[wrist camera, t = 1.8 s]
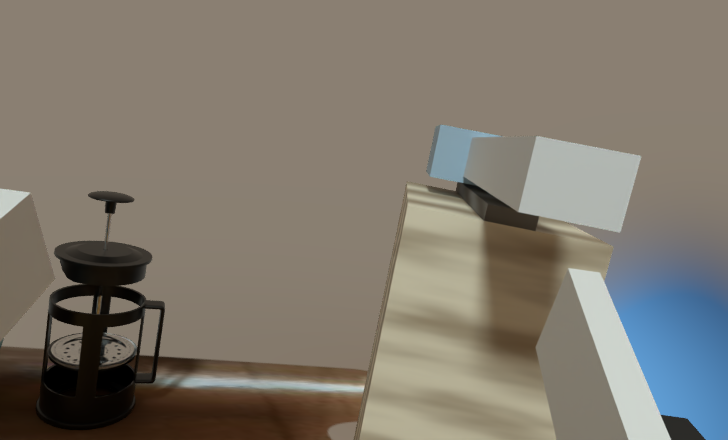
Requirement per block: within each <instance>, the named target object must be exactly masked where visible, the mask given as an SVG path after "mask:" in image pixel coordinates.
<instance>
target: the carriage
mask: <svg viewBox="0 0 728 440" xmlns="http://www.w3.org/2000/svg"><path fill="white" fill-rule="evenodd" d="M640 159H641V156H638V155H633V154H628V153H622V152H617V151H612V150H607V149H602V148H596V147H591V146H586V145H581V144H576V143H570V142H564V141H560V140H555V139H550V138H545V137H539V136H517V137H516V136H514V137H502V136H497V135H492V134H487V133H482V132H477V131H471V130H466V129H461V128H456V127H451V126H446V125H439V126H436V128H435V132H434V137H433V142H432V147H431V151H430V156H429V161H428V166H427V170H426V171H427V173H428V174H429V176H431V177H435V178H441V179H445V180H450V181H456V182H461V183H466V184H471V185H476V186H479V187H480V188H482V189H484V190H485V191H487V192H488V193H490V194H491V195H493V196H494V197H496V198H497V199H499V200H500V201H502V202H504V203H505V204H507V205H508V206H510V207H511V208H513V209H514V210H516V211H517V212H521V213H526V214H531V215H536V216H541V217H546V218H551V219H556V220H561V221H566V222H571V223H576V224H581V225H586V226H591V227H596V228H601V229H606V230H611V231H616V232H621V228H622V225H623V220H624V217H625V213H626V210H627V206H628V203H629V199H630V195H631V191H632V188H633V184H634V181H635V177H636V173H637V170H638V166H639V163H640Z"/></svg>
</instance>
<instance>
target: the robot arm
mask: <svg viewBox="0 0 728 440" xmlns="http://www.w3.org/2000/svg"><path fill="white" fill-rule="evenodd" d="M54 280H55V276H54V273H53V269H52V266H51V262H50V259H49V255H48V252H47V248H46V245H45V241H44V238H43V234H42V231H41V227H40V224H39V220H38V217H37V213H36V210H35V206H34V203H33V199H32V196H31V193H28V192H21V191H14V190H7V189H0V348H1V345H2V342H3V339H4V337H5V336H6V335H7V334H8V332H9V331H10V330H11V329H12V328H13V327H14V326H15V324H16V323H17V322H18V321H19V320H20V319H21V318H22V316H23V315H24V314H25V313H26V312H27V311H28V309H29V308H30V307H31V306H32V305H33V304H34V302H35V301H36V300H37V299H38V298H39V297H40V296H41V295H42V293H43V292H44V291H45V290H46V288H48V287H49V285H50V284H51V283H52V282H53V281H54ZM536 352H537V356H538V360H539V365H540V369H541V373H542V378H543V382H544V387H545V391H546V395H547V400H548V404H549V409H550V413H551V417H552V422H553V426H554V430H555V435H556V439H557V440H705V439H704V437H703V436H702V435H701V434H700V433H699V432H698V431H697V429H696V428H695V427H694V426H693V425H692V424H691V423H690V422H689V420H688V419H685V418H679V417H672V416H665V415H660V413H659V410H658V408H657V405H656V403H655V401H654V398H653V396H652V394H651V391H650V389H649V387H648V384H647V382H646V380H645V377H644V375H643V372H642V370H641V368H640V365H639V363H638V361H637V358H636V356H635V354H634V351H633V349H632V347H631V344H630V342H629V340H628V337H627V335H626V332H625V330H624V328H623V325H622V323H621V321H620V318H619V316H618V314H617V311H616V309H615V307H614V304H613V302H612V300H611V297H610V295H609V292H608V290H607V288H606V285H605V283H604V281H603V278H602V276H601V274H600V272H593V271H586V270H578V269H571V268H568V270H567V272H566V274H565V277H564V279H563V282H562V284H561V287H560V289H559V291H558V294H557V296H556V299H555V301H554V304H553V306H552V308H551V311H550V313H549V316H548V318H547V321H546V323H545V325H544V328H543V330H542V333H541V335H540V338H539V340H538V342H537V345H536Z"/></svg>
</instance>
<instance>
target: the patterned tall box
mask: <svg viewBox="0 0 728 440" xmlns="http://www.w3.org/2000/svg"><path fill="white" fill-rule="evenodd" d="M612 251H613V246H611V245H609V244H607V243H605V242H603V241H601V240H599V239H597V238H595V237H593V236H591V235H590V234H588V233H586V232H584V231H582V230H580V229H578V228H576V227H574V226H572V225H570V224H568V223H567V222H565V221H561V220H556V219H551V218H546V217H541V216H536V215H531V214H526V213H521V212H517V211H516V210H514V209H513V208H511V207H510V206H508V205H507V204H505V203H504V202H502V201H500V200H499V199H497V198H496V197H494V196H493V195H491V194H490V193H488V192H487V191H485V190H484V189H482V188H480V187H479V186H476V185H471V184H466V183H461V182H458V183H457V188H456V191H452V190H446V189H442V188H437V187H432V186H427V185H421V184H417V183H412V182H407V184H406V189H405V194H404V199H403V204H402V208H401V213H400V218H399V223H398V228H397V233H396V237H395V242H394V247H393V252H392V257H391V262H390V267H389V271H388V276H387V281H386V286H385V291H384V296H383V301H382V305H381V310H380V315H379V320H378V325H377V330H376V335H375V339H374V344H373V349H372V354H371V359H370V364H369V369H368V373H367V378H366V383H365V388H364V393H363V398H362V403H361V407H360V412H359V417H358V422H357V427H356V432H355V437H354V440H557V439H556V435H555V430H554V426H553V422H552V417H551V413H550V409H549V404H548V400H547V395H546V391H545V387H544V382H543V378H542V373H541V369H540V365H539V360H538V356H537V352H536V345H537V342H538V340H539V338H540V335H541V333H542V330H543V328H544V325H545V323H546V321H547V318H548V316H549V313H550V311H551V308H552V306H553V304H554V301H555V299H556V296H557V294H558V291H559V289H560V287H561V284H562V282H563V279H564V277H565V274H566V272H567V270H568V268H571V269H578V270H586V271H593V272H600V274H601V276H602V278H603V281H604V280H605V276H606V273H607V269H608V265H609V262H610V258H611V254H612Z"/></svg>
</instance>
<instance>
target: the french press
mask: <svg viewBox="0 0 728 440" xmlns="http://www.w3.org/2000/svg"><path fill="white" fill-rule="evenodd" d="M88 196H89V197H91V198H93V199H96V200H101V201H106V204H105V213H108V216H107V224H106V233H105V241H78V242H70V243H65V244H62V245H59V246H58V247H56V248H55V251H54V254H55V256H56V257H57V258H58V259H60V263H61V266H62V270H63V272H64V273H65V275H66V277H67V278H68V279H70V280H72V281H73V282H77V283H82V284H79V285H72V286H67V287H63V288H61V289H58V290H56V291H54V292H53V293H52V294H51V295H50V299H49V310H48V320H47V329H46V339H45V348H44V358H43V368H42V378H41V387H40V397H39V399H38V400H37V404H36V412H37V415H38V416H39V417H40V419H42V420H43V421H44V422H46V423H48V424H50V425H52V426H56V427H60V428H65V429H77V430H83V429H94V428H100V427H104V426H107V425H111V424H113V423H116V422H118V421H120V420H122V419H123V418H125V417H126V416H127V415H129V414H130V413H131V411H132V410H133V408H134V405H135V396H134V391H135V384H136V383H153V382H154V381H155V377H156V370H157V363H158V356H159V348H160V340H161V334H162V327H163V318H164V312H165V304H164V302H162V301H150V300H146V298H145V296H144V295H142V294H141V293H139V292H137V291H135V290H133V289H130V288H126V287H122V286H119V285H127V284H133V283H136V282H139V281H141V280H142V279H144V277H145V273H146V265H147V264H149V263H150V262H151V260H152V255H151V254H150V253H149V252H148V251H146V250H144V249H142V248H139V247H136V246H131V245H127V244H122V243H116V242H108V241H109V233H110V224H111V216H112V214H114V213H115V209H116V203H129V202H133V201H134V198H132V197H130V196H128V195H125V194H121V193H117V192H108V191H97V192H92V193H89V194H88ZM93 295H94V298H93V307H92V314H89V313H81V312H75V311H71V310H67V309H65V308H62V307H60V306H58V305H56V304H55V303H57V302H59V301H61V300H64V299H68V298H72V297H78V296H93ZM111 297H117V298H122V299H126V300H129V301H132V302H134V303H136V304H138V305H139V306H140V307H139V308H137V309H134V310H132V311H128V312H123V313H115V314H109V310H110V302H111ZM145 309H160V317H159V324H158V332H157V339H156V347H155V354H154V361H153V368H152V373H137V368H138V361H139V353H140V345H141V337H142V330H143V323H144V315H145ZM52 317H53V318H55V319H57V320H58V321H61V322H64V323H67V324H71V325H76V326H83V333H79V334H72V335H68V336H65V337H62V338H59V339H57V340H55V341H54V342H52V343H51V344H50V345H49V343H50V334H51V324H52ZM139 319H141V325H140V332H139V340H138V347H137V346H136V345H135V343H133V342H132V341H131V340H129V339H127V338H125V337H122V336H119V335H115V334H110V333H107V327H115V326H122V325H126V324H130V323H133V322H136V321H137V320H139ZM136 352H137V355H136V362H135V370H134V369H133V368H132V367H131V366H130V365H128V363H129V362H131V361H132V360H133V359H134V357H135V354H136ZM48 356H49V359H50V360H51V361H52V362H53V363H54V364H55V365H53V366H51V367H49V368H48V369H47V363H48ZM96 386H99V387H105V388H109V389H112V390H114V391H116V392H115V393H112V394H107V395H103V396H96V397H95V395H96ZM72 388H76V396H68V395H64V394H60V393H61V392H63V391H66V390H69V389H72Z"/></svg>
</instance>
